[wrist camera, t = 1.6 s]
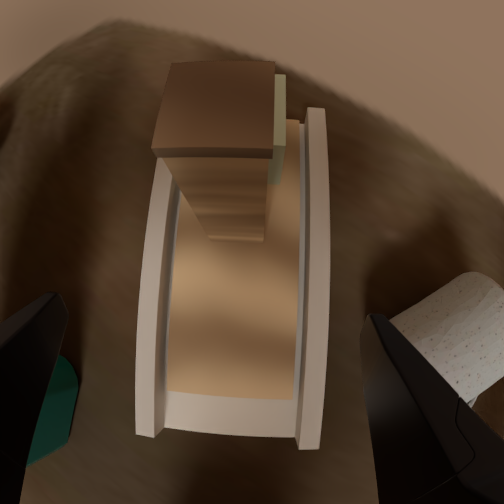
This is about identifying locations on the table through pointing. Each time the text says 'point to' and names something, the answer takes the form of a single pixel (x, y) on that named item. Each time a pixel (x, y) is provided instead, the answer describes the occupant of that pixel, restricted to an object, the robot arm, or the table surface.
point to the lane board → (308, 317)
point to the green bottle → (55, 412)
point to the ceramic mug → (460, 332)
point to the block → (278, 131)
